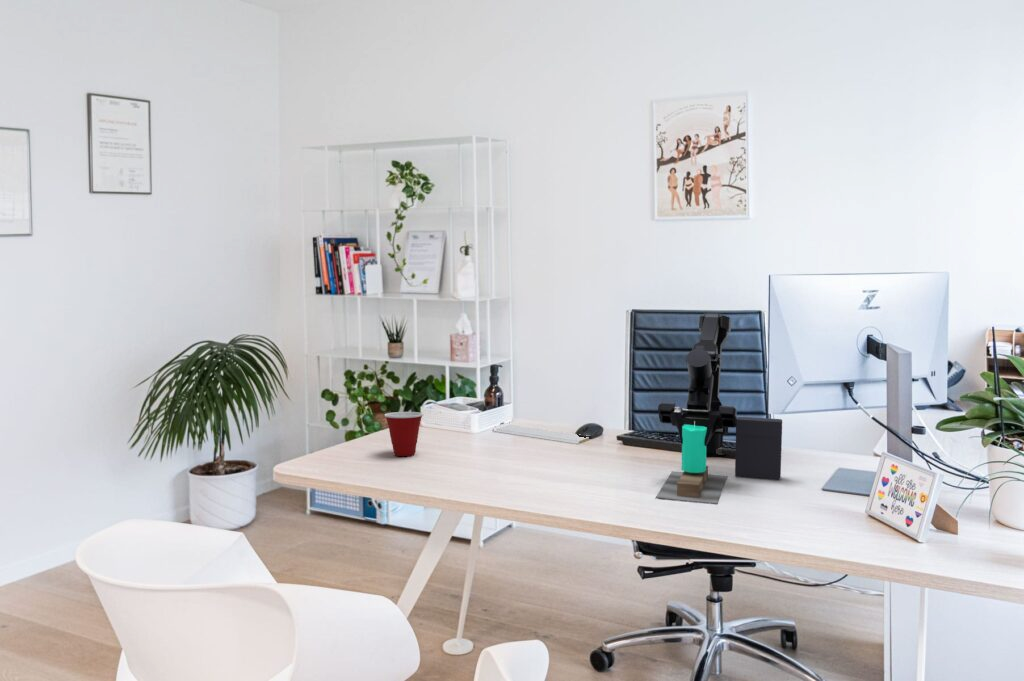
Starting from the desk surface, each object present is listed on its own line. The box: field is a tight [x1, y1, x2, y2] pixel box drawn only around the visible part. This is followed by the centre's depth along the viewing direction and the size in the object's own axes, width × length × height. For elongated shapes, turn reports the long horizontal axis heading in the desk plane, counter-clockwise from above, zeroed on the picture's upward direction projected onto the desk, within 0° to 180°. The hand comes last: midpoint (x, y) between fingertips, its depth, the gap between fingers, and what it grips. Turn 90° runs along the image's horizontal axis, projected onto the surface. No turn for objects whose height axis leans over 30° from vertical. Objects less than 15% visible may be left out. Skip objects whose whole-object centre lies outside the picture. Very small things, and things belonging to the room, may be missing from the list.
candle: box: [681, 421, 707, 473], centre depth 212 cm, size 6×6×12 cm
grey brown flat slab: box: [655, 465, 728, 505], centre depth 212 cm, size 24×14×3 cm, turn 161°
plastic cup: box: [384, 411, 424, 458], centre depth 245 cm, size 11×11×12 cm
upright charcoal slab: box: [734, 416, 783, 481], centre depth 220 cm, size 11×4×15 cm, turn 71°
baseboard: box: [491, 421, 590, 446], centre depth 268 cm, size 30×3×10 cm
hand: (693, 444), depth 211 cm, fingers closed on candle, 5 cm apart
